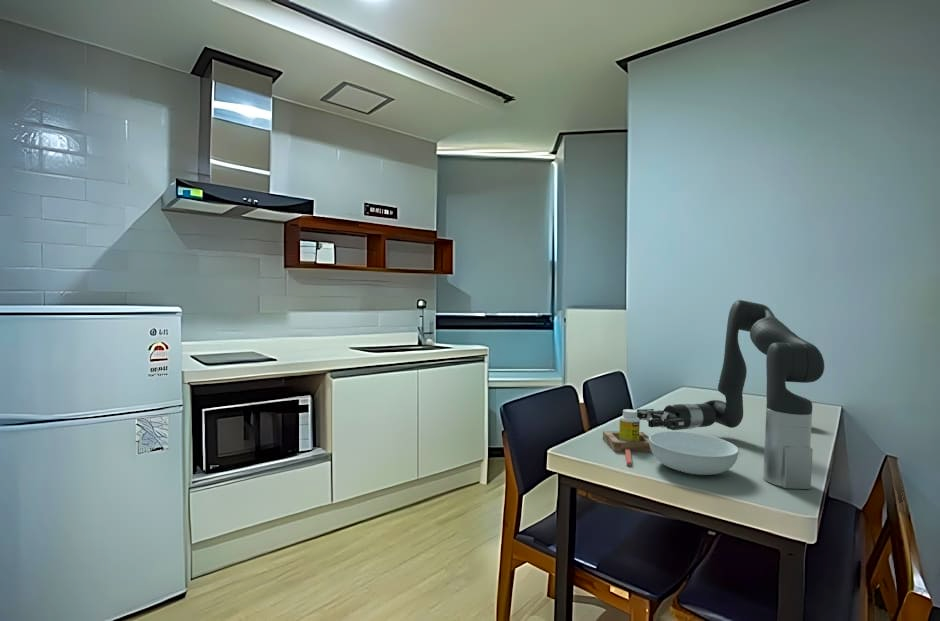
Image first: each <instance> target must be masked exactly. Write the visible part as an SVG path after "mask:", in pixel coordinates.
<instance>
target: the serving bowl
mask: <svg viewBox="0 0 940 621" xmlns="http://www.w3.org/2000/svg"><path fill="white" fill-rule="evenodd" d="M648 437H649V444H650V449H651V451H652V452H651V453H652V455H653V456H654V457H655V459H656V460H657V461H658V462H660V463H661V464H662V465H664V466H666V467H668V468H671V469H673V470H676V471H678V472H680V471H681V473H683V472H684V473H685V474H688V475H694V474H695V475H697V476H706V475H707V476H709V475H711V476H712V475H718V474H723V473H725V472H726V471H729V470H730V469H731V468H733V467H734V465H735V464H736V462H737V459H738V458H739V454H740V453H739V451H740V450H739V448H738V447H737V446H736V445H735V444H733V443H732V442H729V441H727V440H725V439H723V438H718V437H716V436H712V435H706V434H702V433H697V432H696V433H694V432H688V431H674V430H671V431H660V432H655V433H652V434H650V435H649V436H648ZM695 475H694V476H695Z"/></svg>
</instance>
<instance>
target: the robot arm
mask: <svg viewBox="0 0 940 621" xmlns="http://www.w3.org/2000/svg"><path fill="white" fill-rule="evenodd" d="M739 331H743V332H749V338H750V341H751V342H752V344H753V345H754V347H756V349H757V350H758V351H759V352H760V353H762V354H764V355H765V356H766V360H765V361H766V364H765V365H766V366H765V367H766V369H765V370H766V392H765V393H766V412H765V414H766V415H765V430H764V431H765V433H764V452H763V453H764V454H763V479H764V480H765V481H766V482H768V483H769V484H772V485H775V486H778V487H781V488H783V489H792V490H793V489H794V490H795V489H796V490H797V489H799V490H800V489H801V490H811V489H812V471H813V470H812V469H813V452H814V450H813V448H812V446H811V441H812V438H811V437H812V424H813V422H812V421H813V403H812V401H811V400H810V399H808V398H806V397H803V396H801V395H798V394H795V393H793V392H792V391H790V390H789V389H787V386H786V382H789V383H800V384H801V383H804V384H806V383H815V382H816V381H818V380H820V379H821V378H822V376H823V374H824V371H825V360H824V356H823V354H822V353H821V351H820V349H819V348H818V347H817V346H816V345H814V344H813V343H812V342H809V341H807V340H805V339H803V338H802V337H799V335H797V334H796V333H795V332H793V331H792V330H791V329H790V328H789V327H788V326H786V325H785V324H784V323H783V322H782V321H780V320H779V319H778V317H776V316H775V315H774V313H773V311H772V310H771V308H770V307H768V306H767V305H764V304H762V303H757V302H752V301H746V300H742V299H737V300H736V301H734V302H733V303H732V305H731V307H730V310H729V312H728V318H727V324H726V333H725V344H724V355H723V356H724V357H723V362H722V367H721V372H720V376H719V380H718V385H717V390H718V392H719V393H720V394H721V395H723V396H724V397H725V401H723V400H718V399H713V400H712V399H711V400H708V401H705V402H703V403H678V404H668V405H666V406H665V407H664V409H663V410H662V409H661V410H660V409H657V410H655V408H647V409H645V408H643V409H637V410H636V411H637V417H638V418H639V419H640V421H646V422H648V424H647V425H648V427H649V428H659V427H660V428H666V429H667V430H671V431H678V430H679V431H680V430H691V429H696V428H705V427H710V426H713V425H714V424H715V423H716V424H719V425H721V426H724V427H727V428H730V429H733V428H737V427H738V426H739V425H740V424H741V423H742V421H743V418H744V399H743V391H744V387H745V383H746V379H747V365H746V362H745V358H744V356H743V353H742V351H741V347H740V344H739Z"/></svg>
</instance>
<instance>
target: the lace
mask: <svg viewBox="0 0 940 621" xmlns="http://www.w3.org/2000/svg"><path fill="white" fill-rule="evenodd" d="M624 454H625V462H627V463H626V466H627V465H629V466H628V467H633V465H632V464H633V460H632V455H631V454H632V453H631V452H630V449H625V452H624Z"/></svg>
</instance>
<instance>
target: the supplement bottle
mask: <svg viewBox="0 0 940 621" xmlns="http://www.w3.org/2000/svg"><path fill="white" fill-rule="evenodd" d="M640 426H641V420H640V419H639V418H638V417H637V410H635V409H629V408H627V409H623V410H622V416H620V417H619V441H639V432H640Z"/></svg>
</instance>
